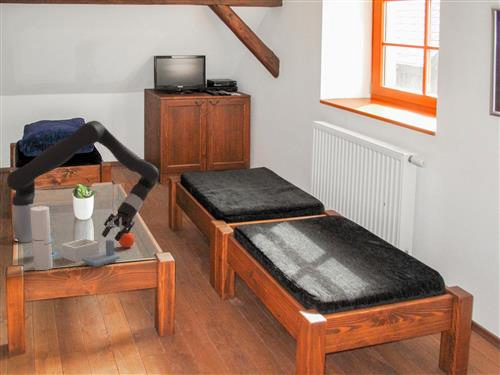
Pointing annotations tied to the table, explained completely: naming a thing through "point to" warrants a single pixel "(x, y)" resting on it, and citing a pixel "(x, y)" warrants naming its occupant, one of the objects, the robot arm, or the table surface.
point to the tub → (80, 249)
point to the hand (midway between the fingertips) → (109, 238)
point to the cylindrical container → (41, 238)
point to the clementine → (127, 240)
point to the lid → (102, 256)
